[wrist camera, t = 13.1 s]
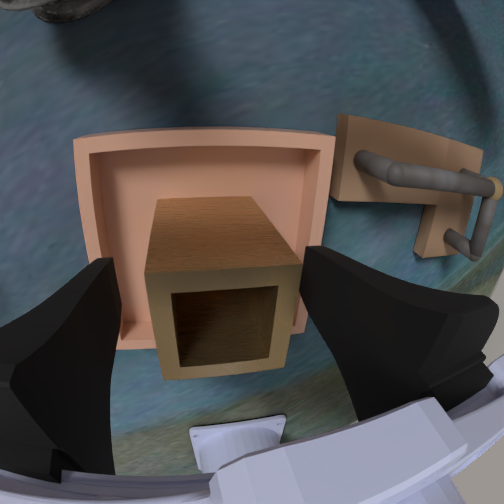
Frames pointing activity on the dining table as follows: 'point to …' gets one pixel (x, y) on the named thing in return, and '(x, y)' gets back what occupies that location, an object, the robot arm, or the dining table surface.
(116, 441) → the dining table surface
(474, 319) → the robot arm
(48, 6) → the dark grey chess piece
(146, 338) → the dish
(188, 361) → the hollow wooden box
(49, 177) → the dining table surface
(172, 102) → the dining table surface
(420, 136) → the bent wire
